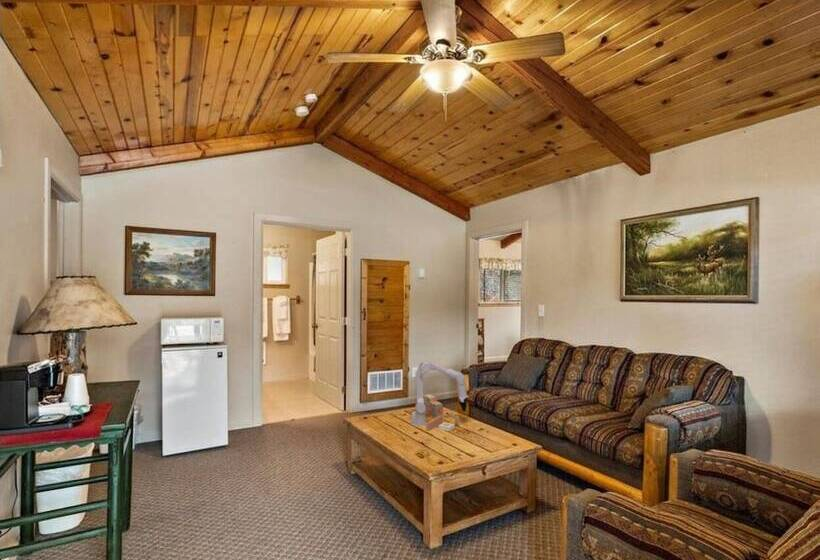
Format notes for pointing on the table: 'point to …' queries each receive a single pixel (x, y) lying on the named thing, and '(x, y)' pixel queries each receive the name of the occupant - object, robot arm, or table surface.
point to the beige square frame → (446, 426)
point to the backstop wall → (434, 423)
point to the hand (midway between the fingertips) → (464, 409)
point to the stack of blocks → (432, 405)
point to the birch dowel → (456, 421)
